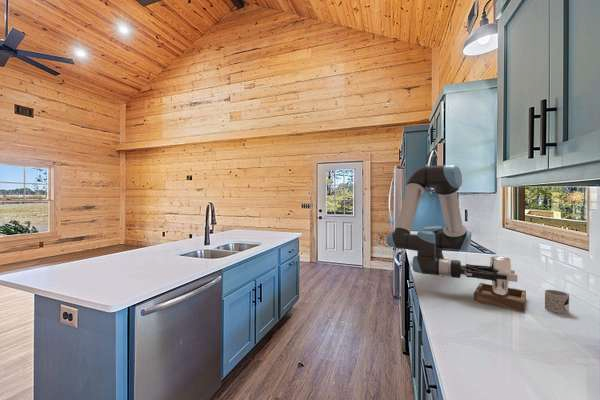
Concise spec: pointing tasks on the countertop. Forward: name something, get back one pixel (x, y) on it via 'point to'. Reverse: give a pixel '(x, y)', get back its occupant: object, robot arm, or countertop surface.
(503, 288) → the beer glass
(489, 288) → the tray
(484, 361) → the countertop surface
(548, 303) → the mug
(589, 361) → the countertop surface
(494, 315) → the countertop surface
